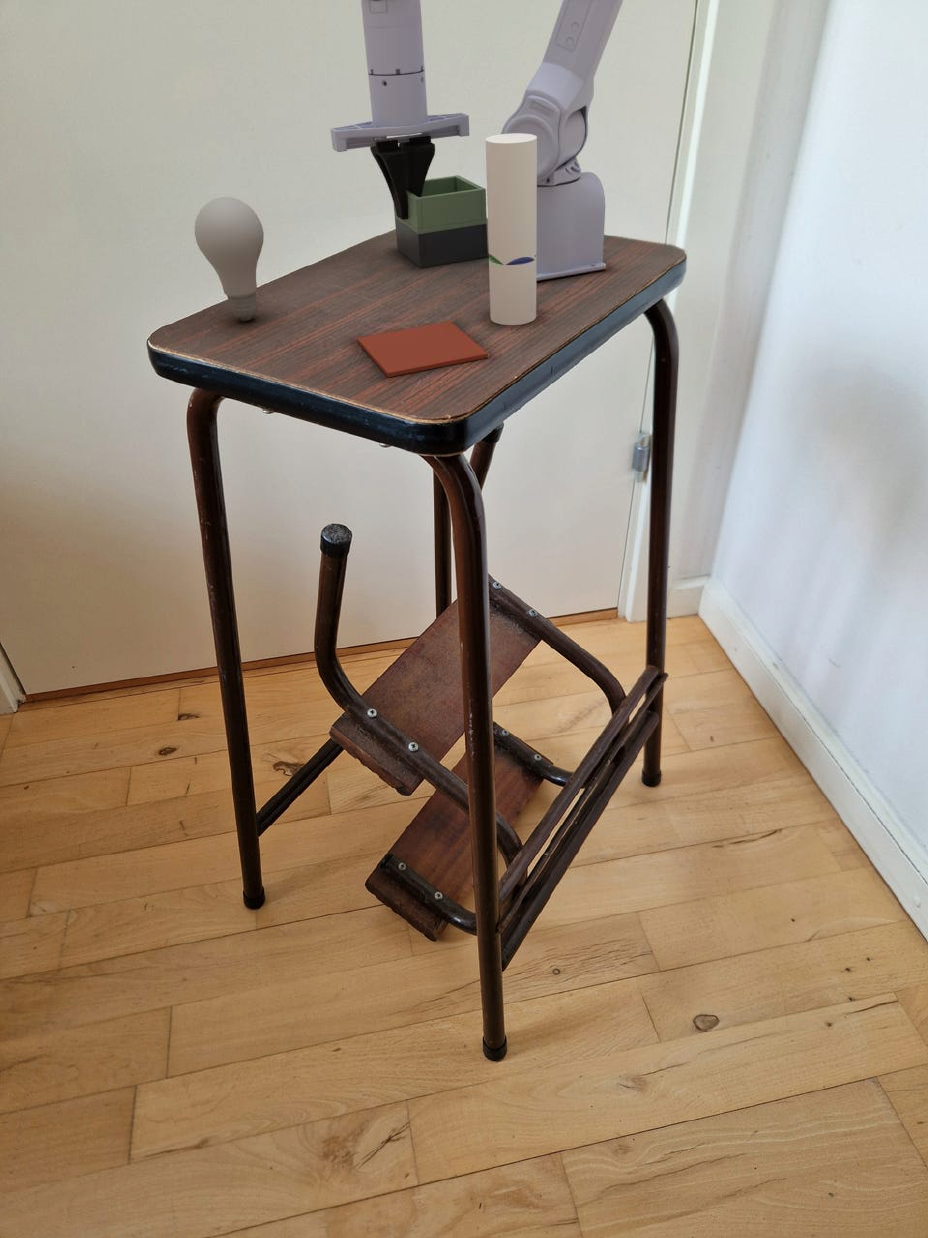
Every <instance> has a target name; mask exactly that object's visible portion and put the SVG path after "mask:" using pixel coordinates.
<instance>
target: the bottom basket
mask: <svg viewBox="0 0 928 1238" xmlns="http://www.w3.org/2000/svg"><path fill="white" fill-rule="evenodd" d="M394 225H395V235H396V247H397V251H398V252H400V253H401V254H402V255H403V256H405V257H406V258H407V259H408V260H410V261H411V262H412V263H414V264H415V265H416V266H418V267H419V268H420V269H422V268H423V269H424V268H429V267H435V266H436V267H437V266H441V265H449V264H453V263H459V262H465V261H471V260H478V259H483V258H488V256H489V248H488V223H487V224H481V225H475V226H468V227H462V228H455V229H449V230H443V231H436V232H430V233H424V234H417V233H416V232H414V231H413V230H411V229H410V228H409V227H407V226H406V225H404V224H403V223H401V222H400V221H399V220H397V219H396V218H395V217H394Z"/></svg>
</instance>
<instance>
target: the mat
mask: <svg viewBox="0 0 928 1238" xmlns="http://www.w3.org/2000/svg"><path fill="white" fill-rule="evenodd" d="M356 340H357V344H359V346H360V347H361V348H362V349H363V351H364V352H365V353H366V354H367V355H368V356H369V357H370V358H371V359H372V361H373V362H374V363H375V364H376V365H377V367H379V369H380V370H381V371H382V372H383V374H384V375H385V376H386V377H387V378H394V377H397V376H403V375H408V374H412V373H417V372H422V371H427V370H433V369H438V368H443V367H448V366H452V365H458V364H463V363H467V362H472V361H477V360H482V359H487V358H489V357H488V356H489V353H488V352H487V351H486V350H484V349H483V348H482V346H480V345H479V344H478V343H477V342H475V341H474V340H473V339H472V338H471V337H469V335H467V334H466V333H465V332H464V331H462V330H461V329H460V328H459V327H458V326H457V325H455V324H454V323H453V322H452V321H450V320H447V321H442V322H436V323H431V324H425V325H421V326H415V327H410V328H404V329H399V330H398V329H397V330H393V331H388V332H383V333H377V334H371V335H366V336H361V337H357V338H356Z"/></svg>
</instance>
